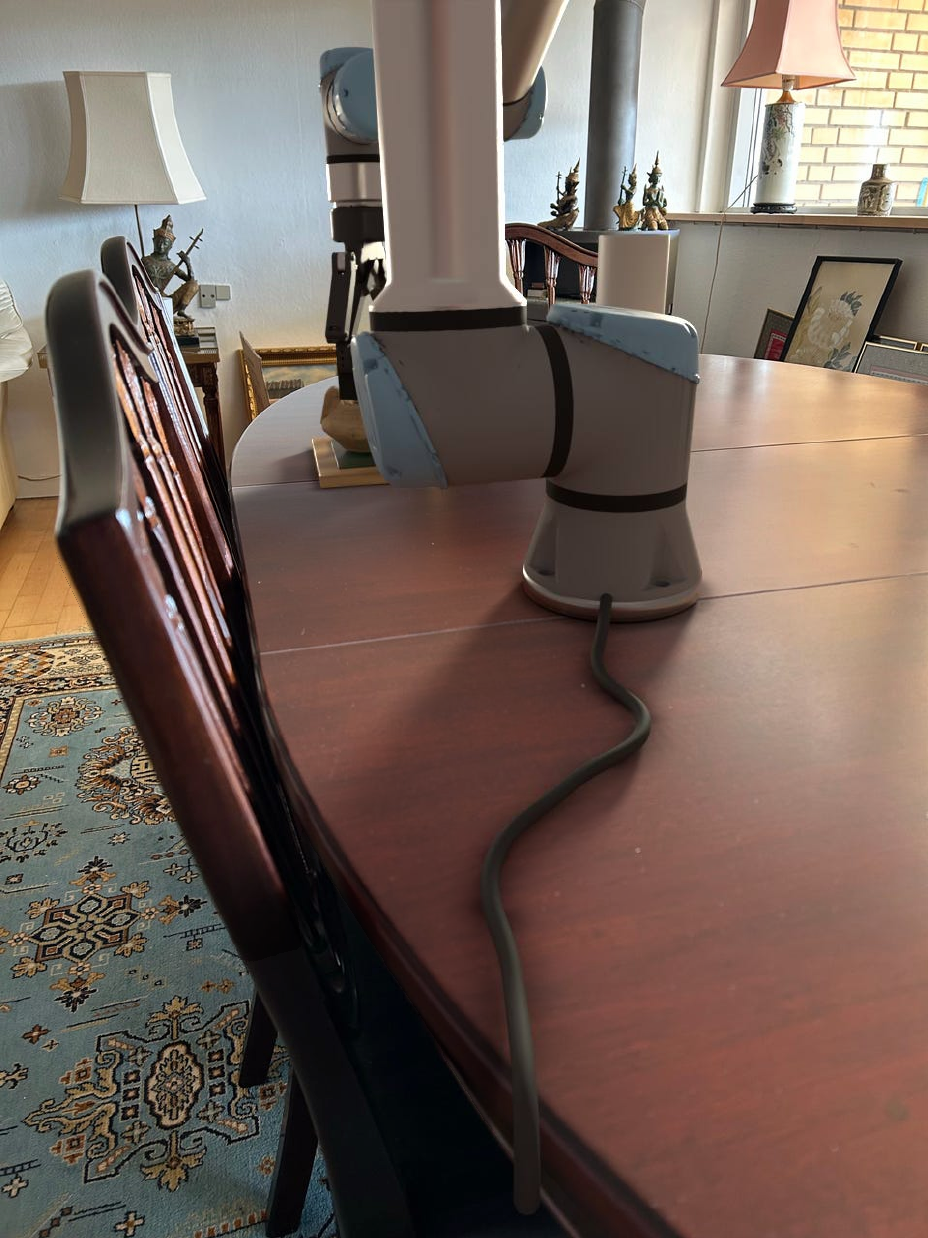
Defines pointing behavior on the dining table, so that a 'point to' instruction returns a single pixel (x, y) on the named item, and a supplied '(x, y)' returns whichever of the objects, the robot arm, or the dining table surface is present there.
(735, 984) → the dining table surface
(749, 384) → the dining table surface
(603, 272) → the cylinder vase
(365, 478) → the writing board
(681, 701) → the dining table surface
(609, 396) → the robot arm
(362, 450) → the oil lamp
